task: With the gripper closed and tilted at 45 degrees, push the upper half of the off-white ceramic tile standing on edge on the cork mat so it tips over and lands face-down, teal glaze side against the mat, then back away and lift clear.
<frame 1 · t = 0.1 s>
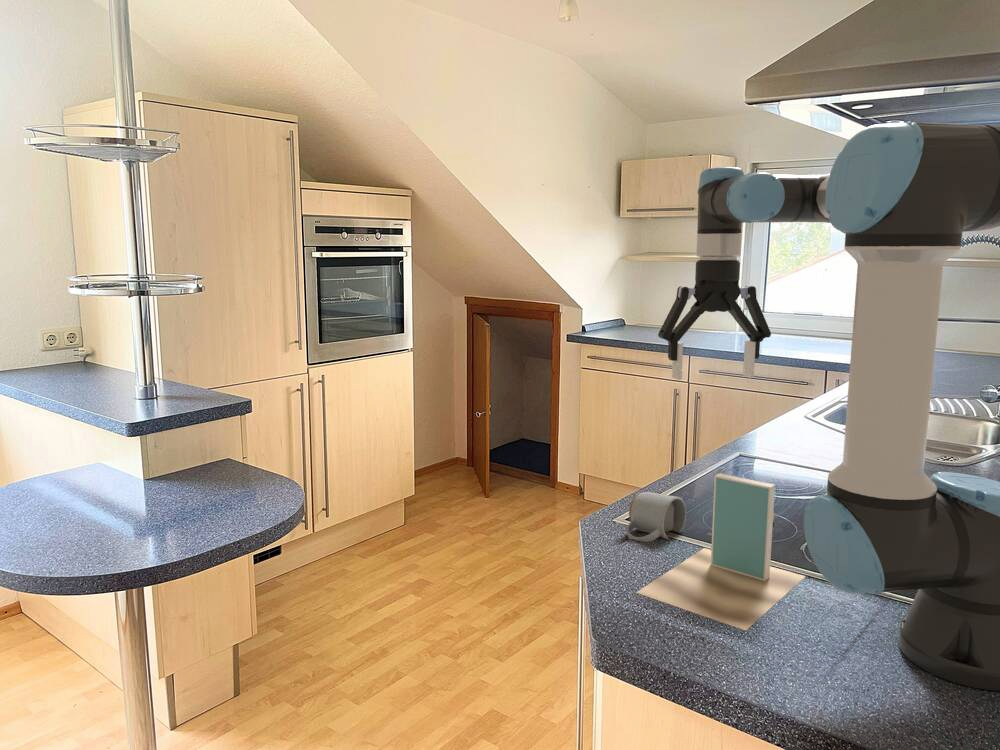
hand: (712, 377, 137), 28 cm above the countertop, tool pointing down, fingers open, 13 cm apart
ceramic tile: (739, 571, 119), point 1 cm above the countertop, touching cork mat
ceramic mug: (653, 537, 136), on the countertop
bread roll: (750, 521, 144), on the countertop
cork mat: (722, 589, 115), on the countertop
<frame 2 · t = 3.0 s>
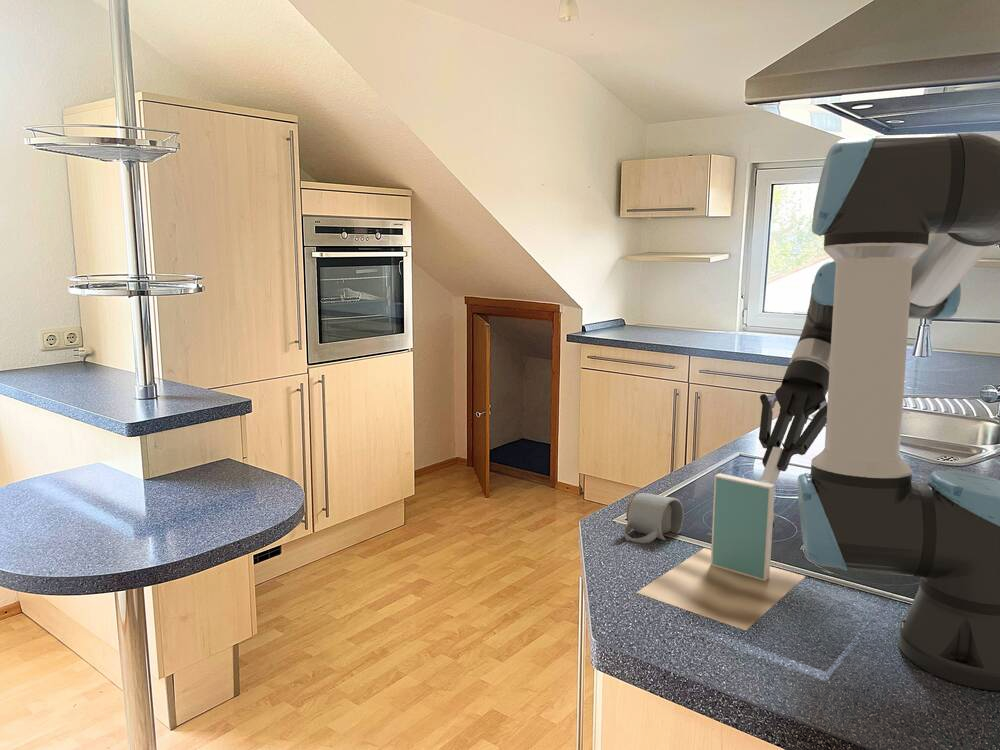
hand: (766, 484, 125), 13 cm above the countertop, tool tilted 45°, fingers closed
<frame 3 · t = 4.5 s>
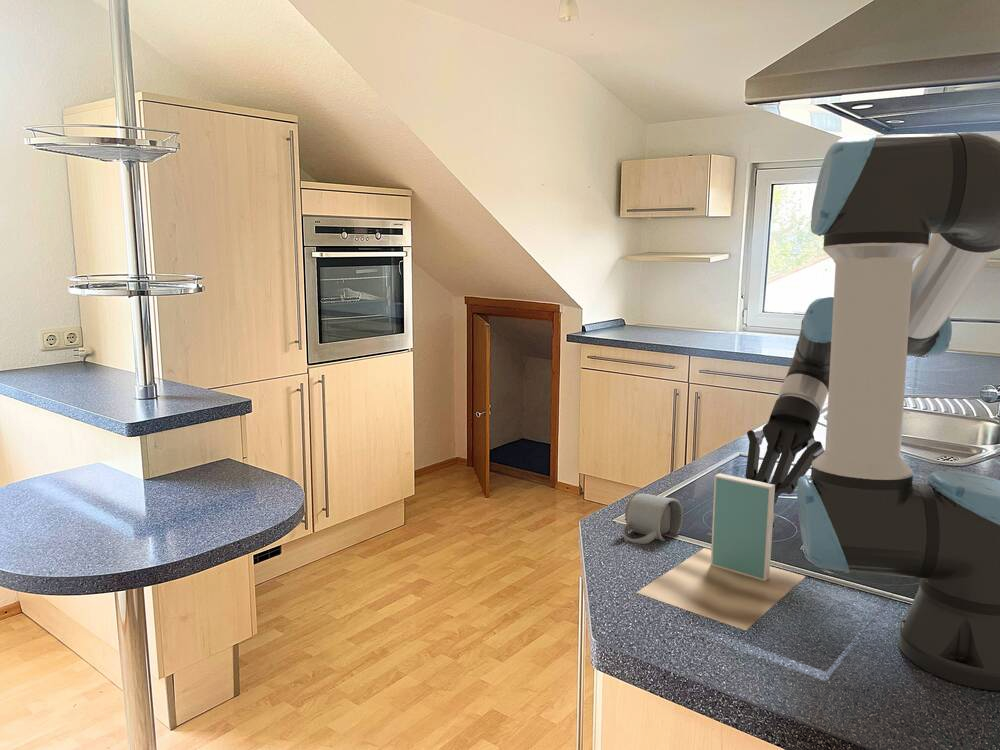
hand: (753, 524, 122), 7 cm above the countertop, tool tilted 45°, fingers closed
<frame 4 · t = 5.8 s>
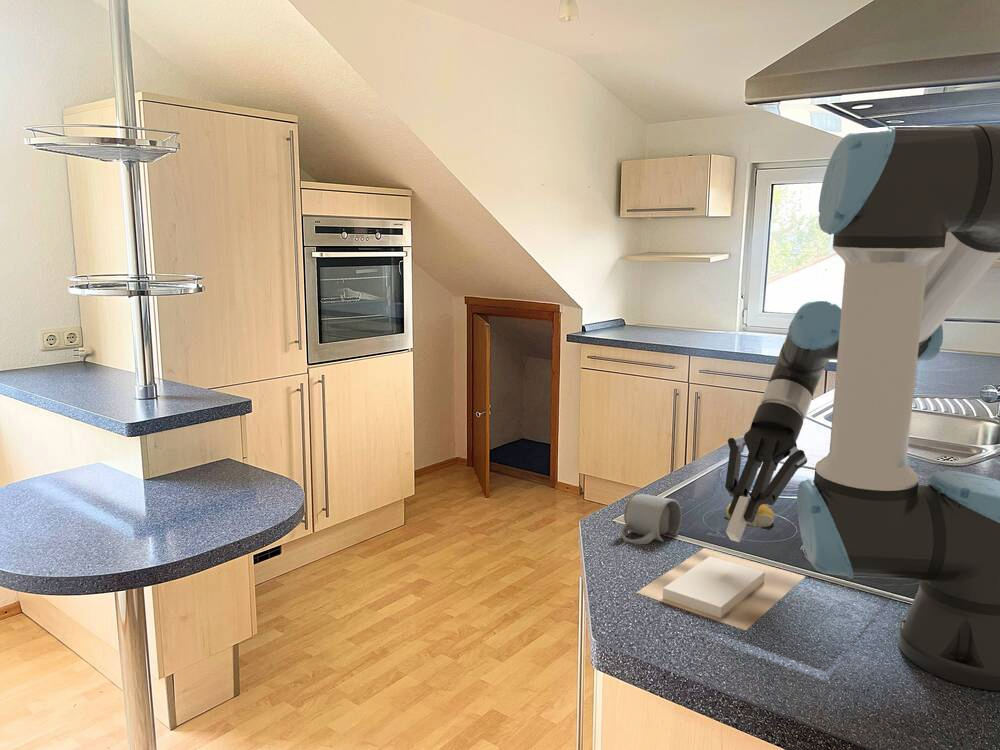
hand: (732, 536, 117), 7 cm above the countertop, tool tilted 45°, fingers closed
ceramic tile: (736, 568, 118), point 2 cm above the countertop, tilted 90°, touching cork mat
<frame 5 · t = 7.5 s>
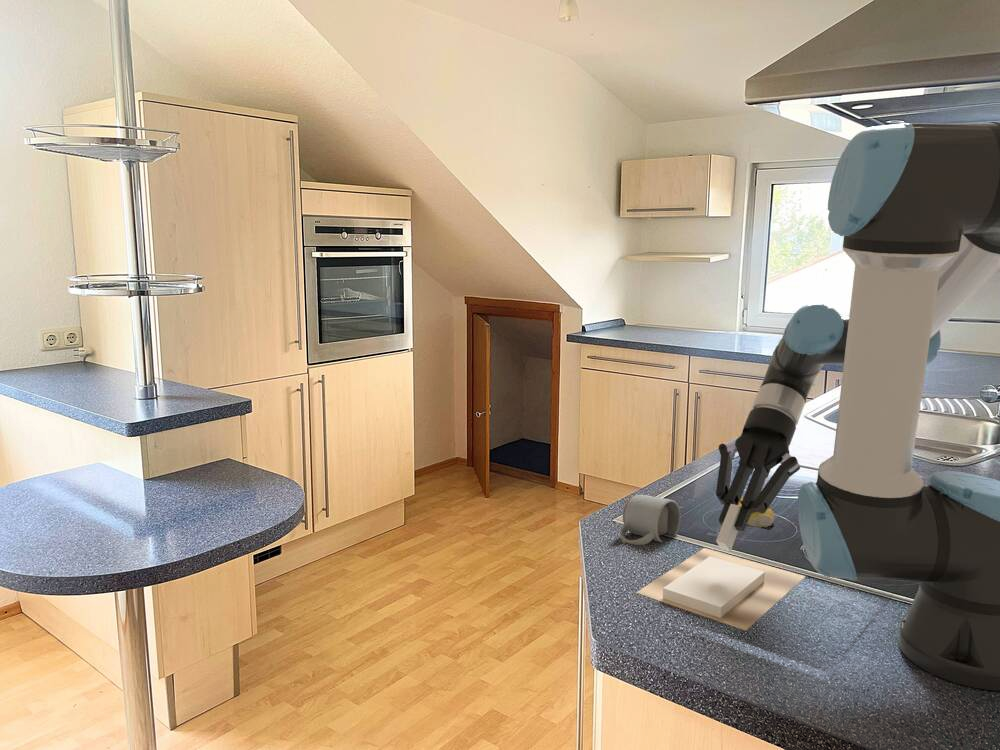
hand: (723, 546, 114), 7 cm above the countertop, tool tilted 45°, fingers closed
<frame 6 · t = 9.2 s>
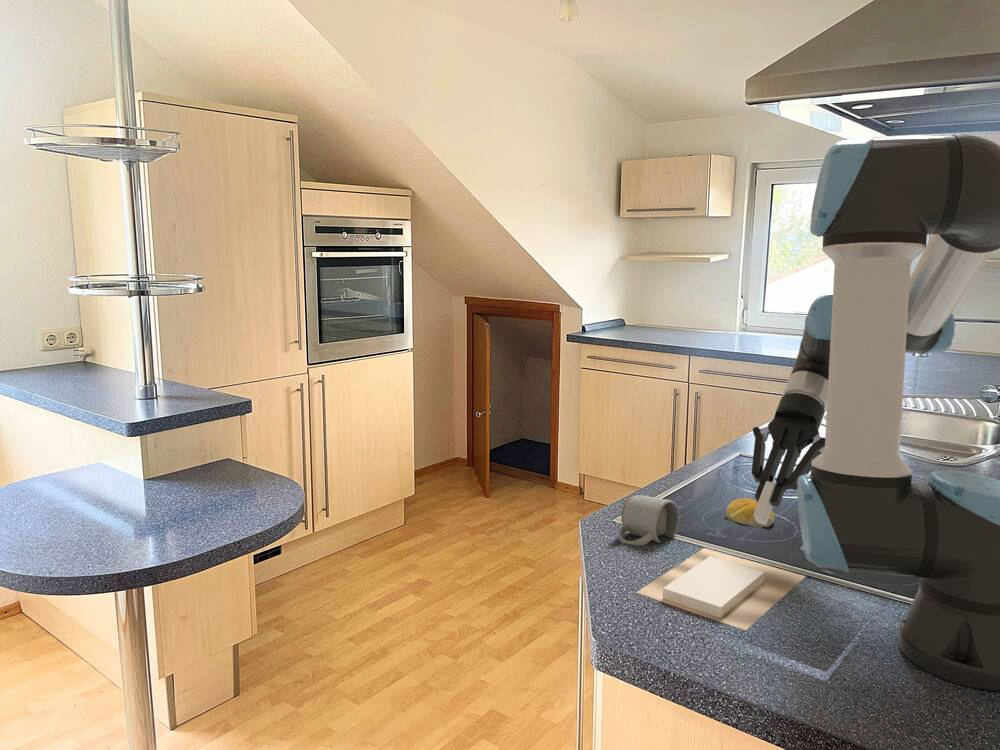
hand: (759, 519, 123), 7 cm above the countertop, tool tilted 45°, fingers closed
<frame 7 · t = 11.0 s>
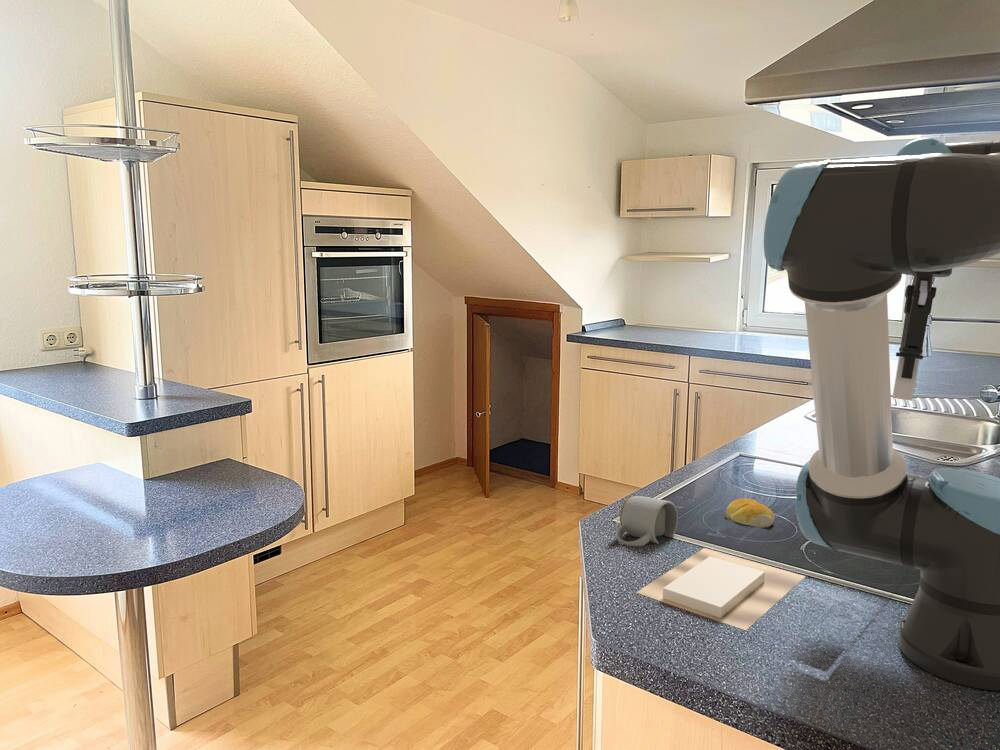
hand: (902, 398, 120), 27 cm above the countertop, tool pointing down, fingers closed
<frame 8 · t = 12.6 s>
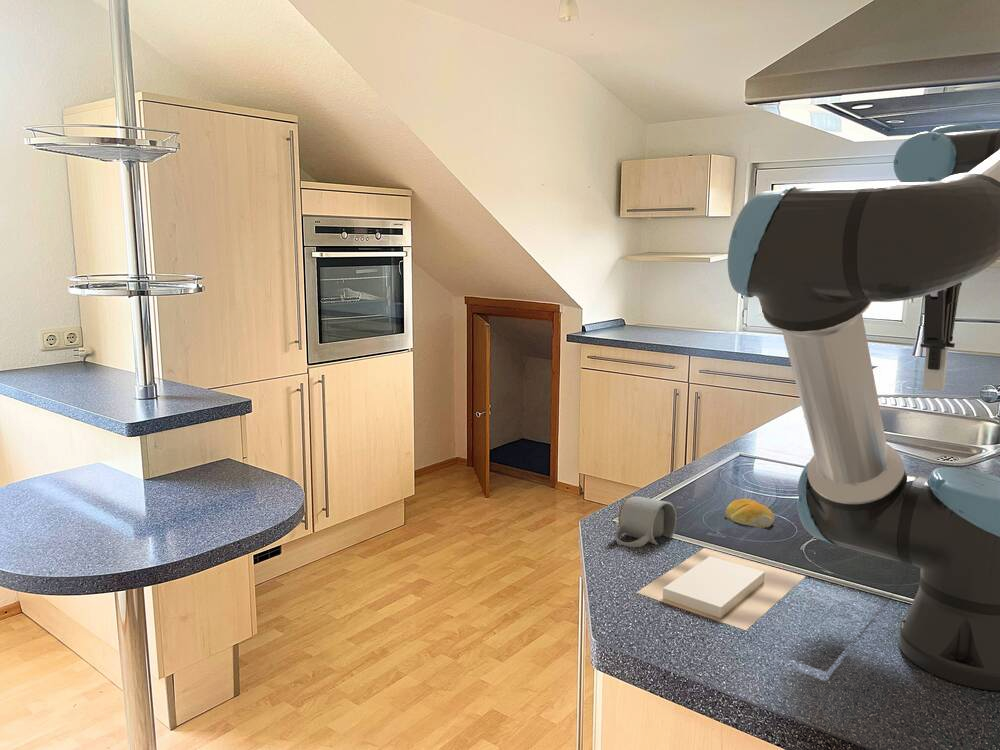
hand: (933, 389, 117), 29 cm above the countertop, tool pointing down, fingers closed
at the end: ceramic tile tilted 90°; ceramic tile touching cork mat; ceramic tile 4.9 cm from the cork mat (horizontally) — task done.
